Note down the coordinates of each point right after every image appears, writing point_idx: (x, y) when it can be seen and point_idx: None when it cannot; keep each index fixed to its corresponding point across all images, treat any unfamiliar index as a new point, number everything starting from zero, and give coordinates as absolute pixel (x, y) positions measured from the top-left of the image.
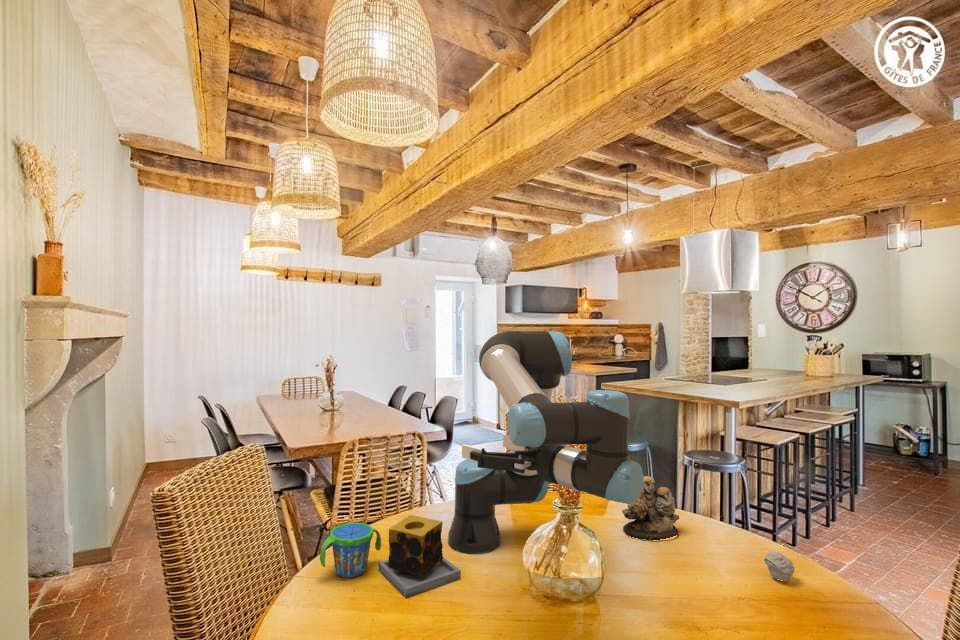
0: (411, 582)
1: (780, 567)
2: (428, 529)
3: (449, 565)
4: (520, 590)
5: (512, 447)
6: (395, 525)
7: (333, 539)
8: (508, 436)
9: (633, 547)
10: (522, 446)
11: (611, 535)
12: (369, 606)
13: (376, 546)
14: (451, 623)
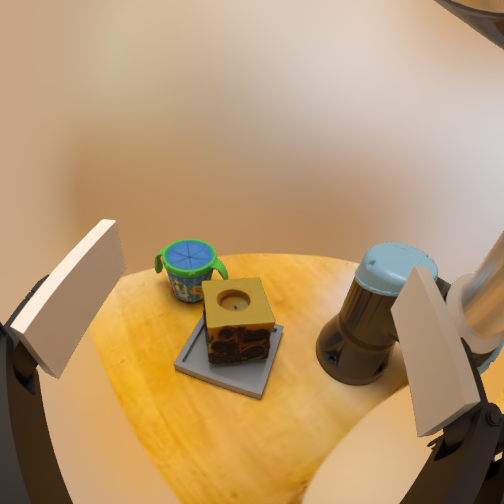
0: (203, 357)
1: None
2: (234, 322)
3: (262, 374)
4: (294, 480)
5: (408, 354)
6: (215, 281)
7: (162, 252)
8: (427, 290)
9: None
10: (433, 410)
11: None
12: (141, 345)
13: None
14: (159, 444)
